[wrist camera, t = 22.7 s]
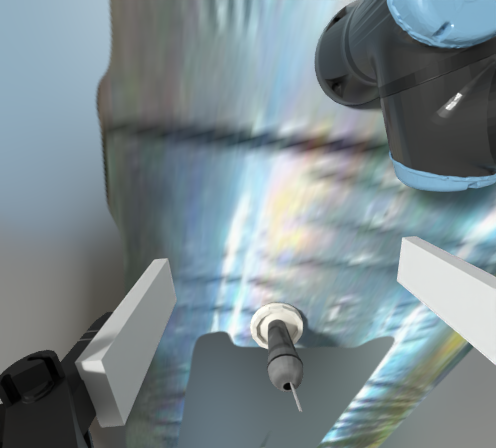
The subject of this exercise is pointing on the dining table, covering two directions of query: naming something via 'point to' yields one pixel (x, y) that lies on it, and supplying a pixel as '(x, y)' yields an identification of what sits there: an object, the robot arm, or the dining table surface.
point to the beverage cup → (283, 359)
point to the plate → (272, 313)
